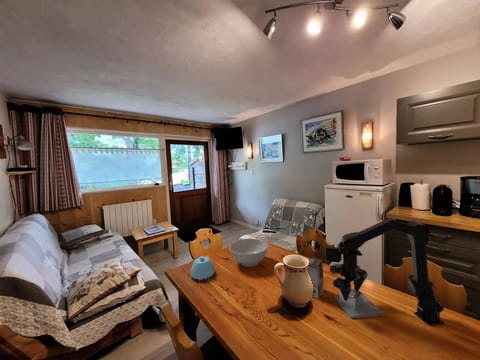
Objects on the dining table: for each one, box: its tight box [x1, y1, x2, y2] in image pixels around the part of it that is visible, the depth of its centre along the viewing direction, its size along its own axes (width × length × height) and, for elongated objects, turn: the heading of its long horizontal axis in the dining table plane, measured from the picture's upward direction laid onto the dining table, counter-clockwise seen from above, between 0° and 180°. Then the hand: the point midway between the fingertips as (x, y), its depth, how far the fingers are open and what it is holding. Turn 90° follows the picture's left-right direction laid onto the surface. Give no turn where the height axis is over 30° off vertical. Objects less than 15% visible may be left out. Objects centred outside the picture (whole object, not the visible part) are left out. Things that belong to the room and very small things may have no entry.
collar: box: [338, 287, 364, 311], centre depth 90 cm, size 7×7×5 cm
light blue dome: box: [190, 255, 216, 281], centre depth 125 cm, size 15×15×12 cm
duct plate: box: [334, 290, 384, 320], centre depth 89 cm, size 14×13×6 cm
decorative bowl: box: [229, 238, 269, 268], centre depth 136 cm, size 27×27×12 cm
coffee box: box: [307, 256, 325, 299], centre depth 100 cm, size 9×6×16 cm
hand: (351, 296), depth 90 cm, fingers open, 9 cm apart
